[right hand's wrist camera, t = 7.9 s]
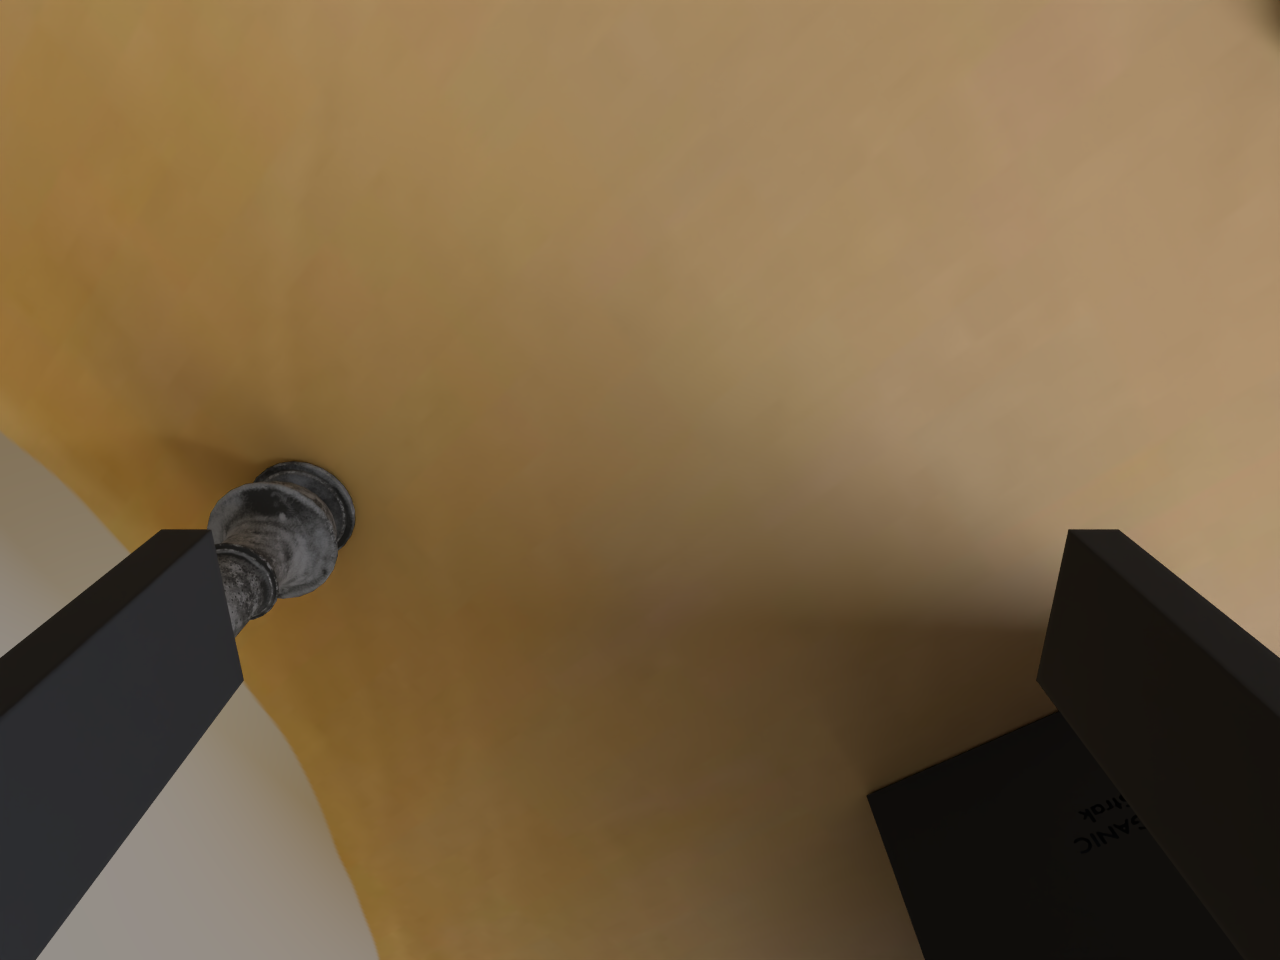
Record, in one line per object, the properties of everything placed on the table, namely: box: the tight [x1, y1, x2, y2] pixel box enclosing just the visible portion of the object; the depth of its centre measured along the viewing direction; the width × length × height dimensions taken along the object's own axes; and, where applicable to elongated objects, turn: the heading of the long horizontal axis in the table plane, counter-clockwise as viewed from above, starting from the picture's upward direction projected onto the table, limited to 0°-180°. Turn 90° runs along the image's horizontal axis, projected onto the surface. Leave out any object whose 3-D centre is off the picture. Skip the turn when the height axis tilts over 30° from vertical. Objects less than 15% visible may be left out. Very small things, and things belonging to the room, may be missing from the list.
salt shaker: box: [207, 461, 355, 637], centre depth 35 cm, size 6×6×12 cm
